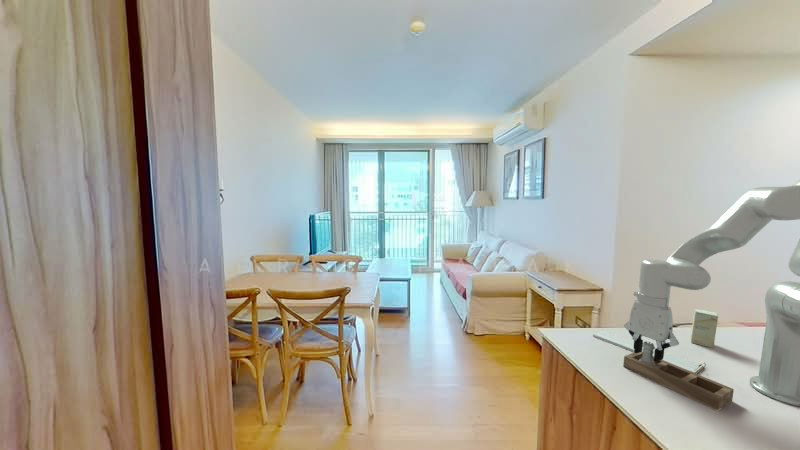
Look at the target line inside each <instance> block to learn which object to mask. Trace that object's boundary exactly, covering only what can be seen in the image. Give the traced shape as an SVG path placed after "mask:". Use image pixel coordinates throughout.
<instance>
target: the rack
mask: <svg viewBox="0 0 800 450" xmlns="http://www.w3.org/2000/svg"><path fill="white" fill-rule="evenodd" d="M642 355H643V352H640V353H634V352H632V353H629V354H625V355H624V356H623V365H622V366H623V367H624V368H626V369H628V370H630V371H631V372H634V373H636V374H639V375H641V376H642V377H645V378H647V379H649V380H651V381H653V382H656V383H658V384H660V385H662V386H663V387H666V388H668V389H670V390H673V391H674V392H677V393H678V394H681V395H683V396H685V397H687V398H688V399H689V398H690V399H692V400H693V401H695V402H698V403H699V404H702V405H704V406H707V407H708V408H710V409H713V410H715V411H717V412H718V411H719V410H721V409H723V408H724V407H726V406H727V405H729V404H730V403H732V402H733V398H734V397H733V396H734V391H735V390H734V388H732V387H729V386H727V385H725V384H723V383H719V382H717V381H716V380H712V379H710V378H708V377H706V376H704V375H703V376H702V375H700V374H698V373H693V372H691V371H688V370H686V369H684V368H681V367H679V366H676V365H674V364H671V363H669V362H667V361H664V360H660V361H658V362H655V361H654V356H653V361H654V363H655V364H656V365H654V366H651V365H648V364H646V363H644V362H641V361H639V359H640V358H641V357H642Z"/></svg>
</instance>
